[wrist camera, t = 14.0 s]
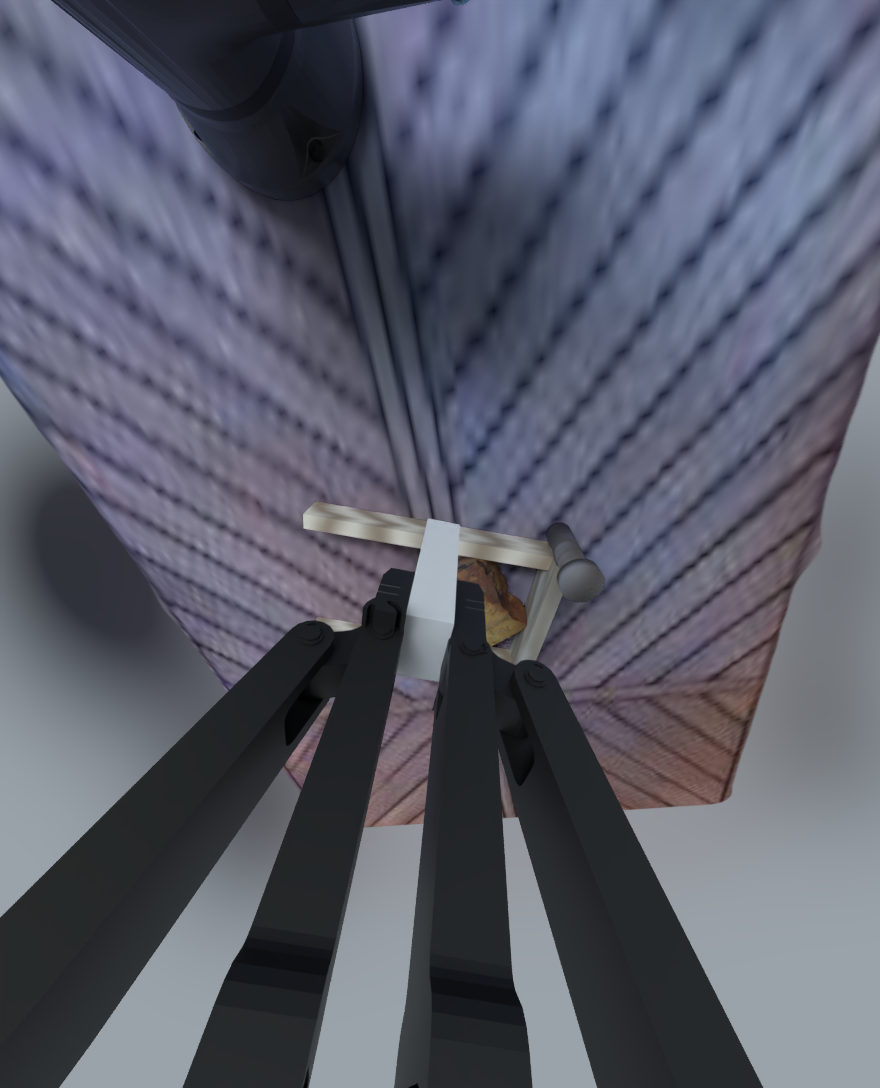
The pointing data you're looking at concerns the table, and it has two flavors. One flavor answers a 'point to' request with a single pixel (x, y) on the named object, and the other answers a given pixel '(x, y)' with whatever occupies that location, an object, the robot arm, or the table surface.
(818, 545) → the table surface
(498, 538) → the bay
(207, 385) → the table surface
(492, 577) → the stone
